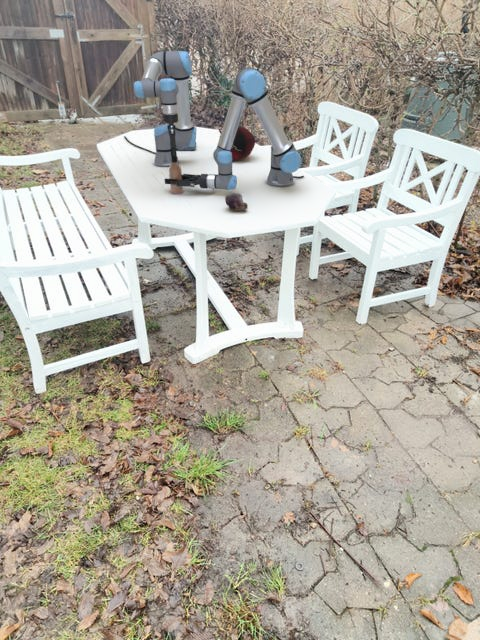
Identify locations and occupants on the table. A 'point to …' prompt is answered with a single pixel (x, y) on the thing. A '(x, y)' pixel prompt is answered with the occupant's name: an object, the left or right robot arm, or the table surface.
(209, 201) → the table surface
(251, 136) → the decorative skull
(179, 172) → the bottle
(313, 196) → the table surface
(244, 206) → the rock
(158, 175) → the table surface
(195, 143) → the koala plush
